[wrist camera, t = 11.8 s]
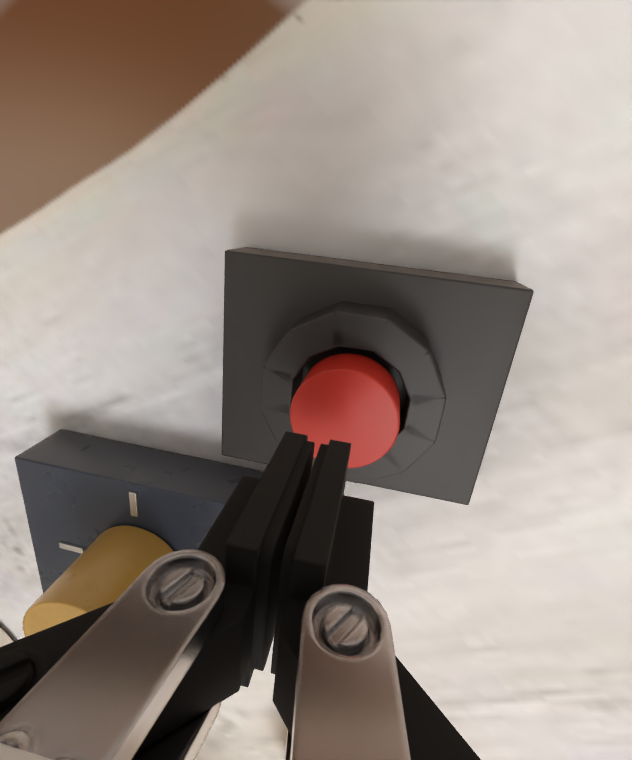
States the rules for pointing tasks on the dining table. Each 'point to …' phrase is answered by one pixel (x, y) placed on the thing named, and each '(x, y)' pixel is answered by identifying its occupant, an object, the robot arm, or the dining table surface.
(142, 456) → the console
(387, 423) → the button
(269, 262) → the button block
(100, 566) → the dial
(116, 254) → the dining table surface
